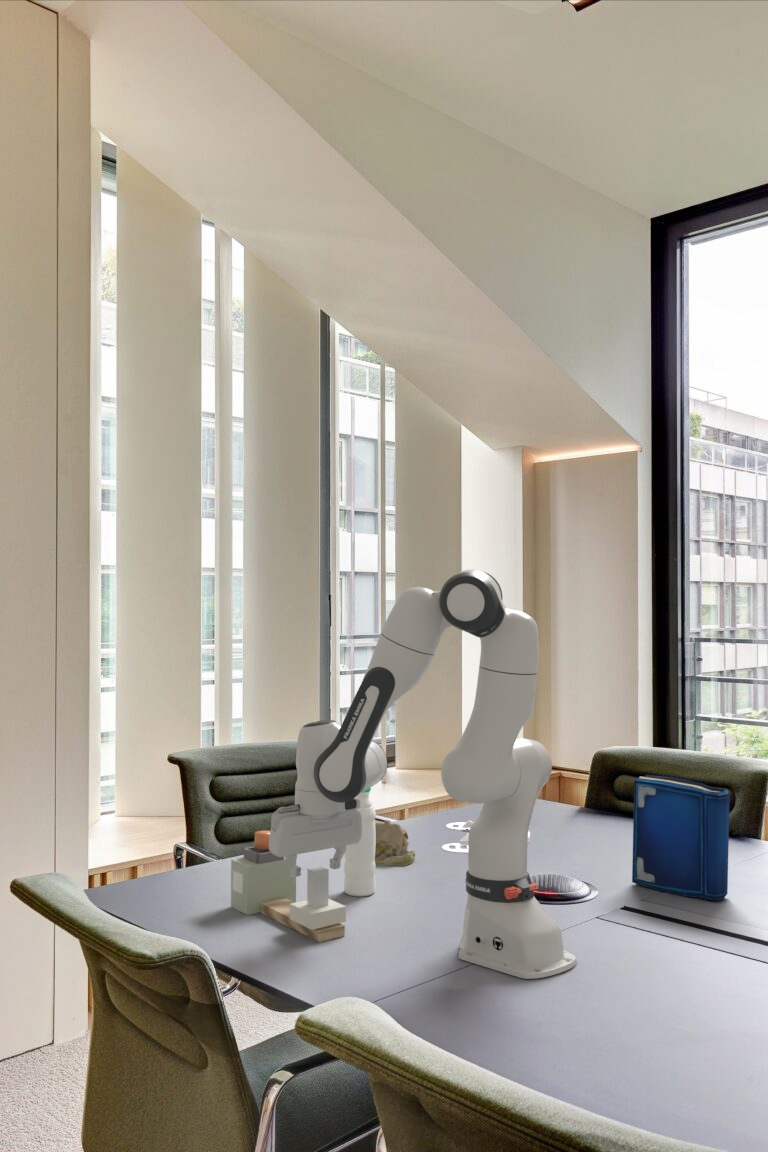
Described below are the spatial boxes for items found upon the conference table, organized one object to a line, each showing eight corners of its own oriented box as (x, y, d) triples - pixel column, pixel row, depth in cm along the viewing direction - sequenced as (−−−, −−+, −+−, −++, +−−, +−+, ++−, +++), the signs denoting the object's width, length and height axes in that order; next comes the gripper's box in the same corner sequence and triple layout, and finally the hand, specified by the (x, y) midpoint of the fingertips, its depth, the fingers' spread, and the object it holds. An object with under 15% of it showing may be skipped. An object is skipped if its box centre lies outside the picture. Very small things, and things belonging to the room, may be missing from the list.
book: (734, 898, 210) (733, 785, 211) (721, 905, 205) (720, 789, 206) (644, 879, 225) (644, 773, 225) (630, 885, 219) (629, 777, 220)
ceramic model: (354, 863, 238) (354, 822, 239) (369, 852, 249) (369, 813, 249) (407, 868, 234) (407, 827, 234) (420, 857, 244) (420, 818, 244)
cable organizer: (446, 824, 283) (446, 812, 283) (527, 826, 281) (527, 814, 281) (440, 854, 249) (440, 841, 249) (532, 857, 246) (532, 843, 246)
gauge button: (276, 847, 203) (276, 833, 203) (260, 850, 201) (260, 835, 201) (267, 843, 206) (267, 829, 207) (251, 846, 204) (251, 832, 204)
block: (344, 935, 184) (344, 925, 185) (318, 942, 181) (319, 931, 181) (285, 907, 202) (285, 897, 202) (260, 912, 198) (260, 903, 198)
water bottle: (371, 898, 209) (372, 784, 209) (340, 896, 210) (341, 783, 211) (378, 889, 215) (378, 778, 216) (348, 887, 217) (348, 777, 218)
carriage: (345, 921, 186) (346, 870, 186) (311, 929, 181) (312, 877, 181) (323, 911, 192) (323, 861, 193) (289, 919, 187) (290, 868, 188)
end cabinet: (295, 904, 204) (296, 848, 205) (245, 915, 197) (245, 857, 197) (279, 896, 210) (279, 841, 210) (229, 906, 202) (229, 850, 203)
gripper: (280, 811, 179) (278, 885, 178) (367, 799, 191) (365, 867, 191) (263, 805, 183) (261, 876, 183) (349, 793, 196) (347, 860, 196)
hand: (315, 872), depth 187 cm, fingers open, 8 cm apart
